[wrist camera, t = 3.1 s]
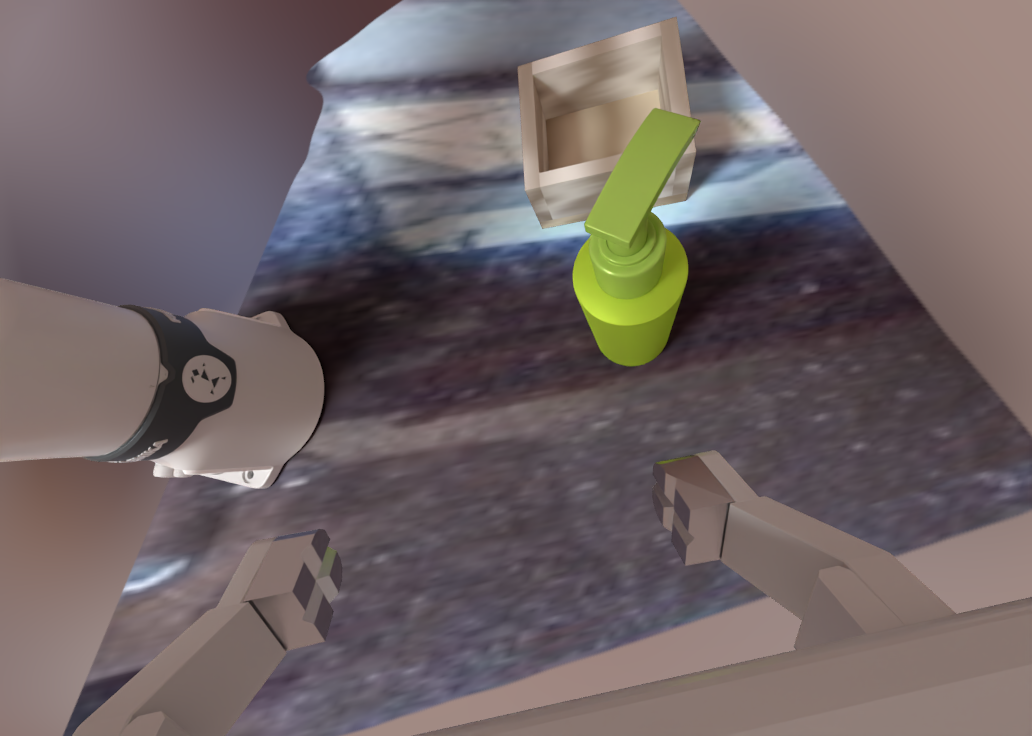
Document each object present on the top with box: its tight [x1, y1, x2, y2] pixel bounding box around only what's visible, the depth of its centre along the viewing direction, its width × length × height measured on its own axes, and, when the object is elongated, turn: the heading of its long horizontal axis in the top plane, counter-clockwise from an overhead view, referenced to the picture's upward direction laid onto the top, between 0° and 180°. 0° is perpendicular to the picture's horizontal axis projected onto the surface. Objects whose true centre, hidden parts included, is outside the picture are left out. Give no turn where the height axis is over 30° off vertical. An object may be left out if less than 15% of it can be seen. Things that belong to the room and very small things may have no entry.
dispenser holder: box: [518, 17, 696, 229], centre depth 34 cm, size 12×11×6 cm
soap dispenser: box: [573, 108, 701, 366], centre depth 24 cm, size 6×7×20 cm
